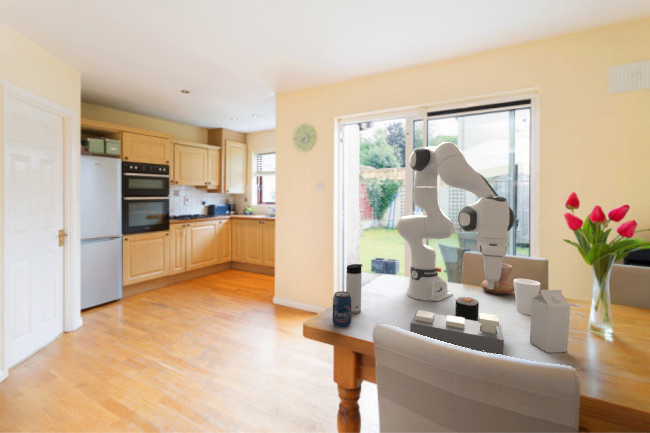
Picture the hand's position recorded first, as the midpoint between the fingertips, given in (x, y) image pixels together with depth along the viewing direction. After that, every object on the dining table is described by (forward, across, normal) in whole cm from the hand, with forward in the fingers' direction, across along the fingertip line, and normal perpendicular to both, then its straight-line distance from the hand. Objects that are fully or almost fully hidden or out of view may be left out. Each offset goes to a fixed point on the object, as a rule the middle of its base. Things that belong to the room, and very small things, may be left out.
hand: (490, 288), depth 100 cm
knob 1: (+18, 0, -20) cm, 27 cm away
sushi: (+19, -21, -7) cm, 29 cm away
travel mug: (+19, -8, -50) cm, 54 cm away
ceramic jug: (+19, -64, +6) cm, 67 cm away
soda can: (+19, +8, -49) cm, 53 cm away
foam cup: (+19, -40, +15) cm, 47 cm away
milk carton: (+19, -7, +18) cm, 27 cm away
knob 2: (+15, 0, 0) cm, 15 cm away
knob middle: (+18, 0, -10) cm, 20 cm away
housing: (+19, 0, -10) cm, 21 cm away
